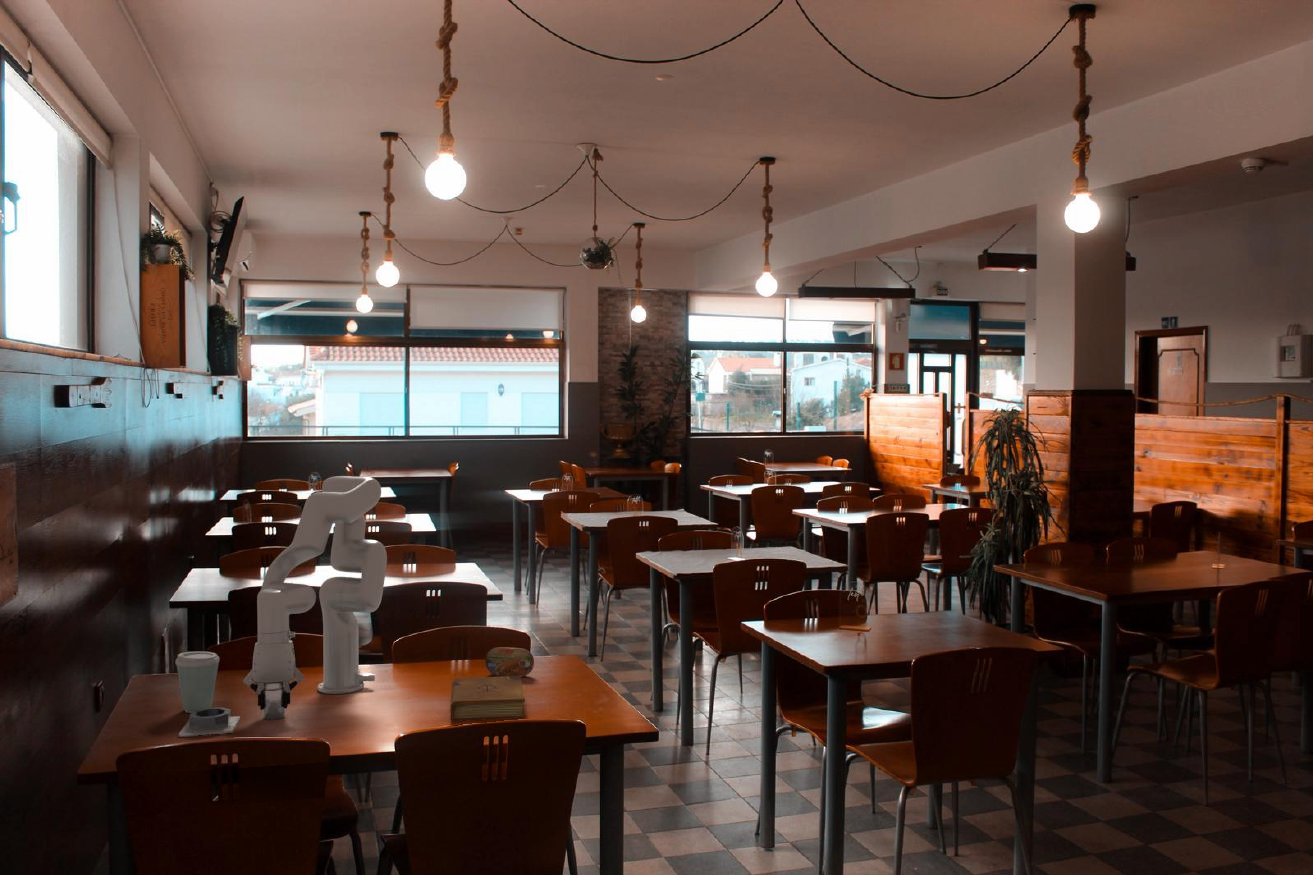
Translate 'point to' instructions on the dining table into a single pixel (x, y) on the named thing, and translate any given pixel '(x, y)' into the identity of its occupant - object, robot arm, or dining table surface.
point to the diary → (487, 698)
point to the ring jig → (209, 722)
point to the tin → (509, 661)
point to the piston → (274, 700)
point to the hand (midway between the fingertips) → (274, 707)
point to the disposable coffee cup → (197, 679)
